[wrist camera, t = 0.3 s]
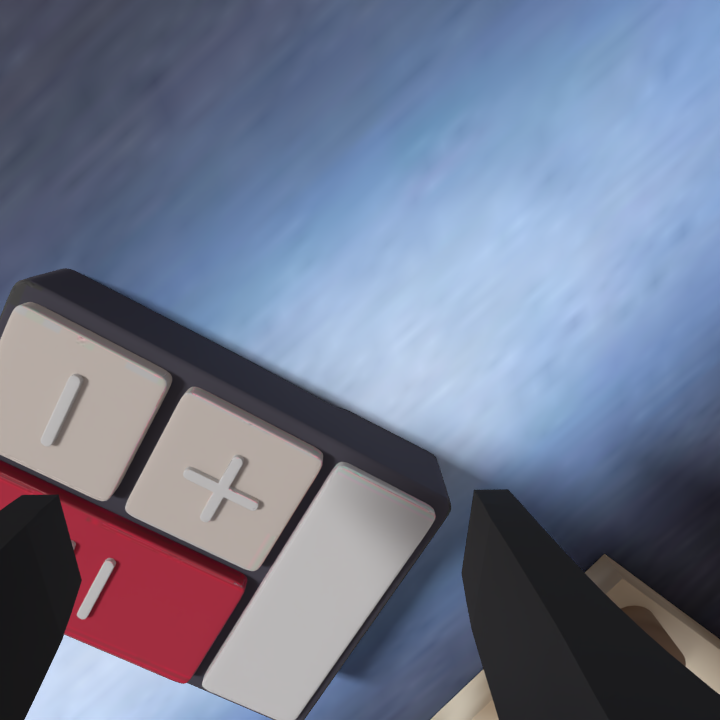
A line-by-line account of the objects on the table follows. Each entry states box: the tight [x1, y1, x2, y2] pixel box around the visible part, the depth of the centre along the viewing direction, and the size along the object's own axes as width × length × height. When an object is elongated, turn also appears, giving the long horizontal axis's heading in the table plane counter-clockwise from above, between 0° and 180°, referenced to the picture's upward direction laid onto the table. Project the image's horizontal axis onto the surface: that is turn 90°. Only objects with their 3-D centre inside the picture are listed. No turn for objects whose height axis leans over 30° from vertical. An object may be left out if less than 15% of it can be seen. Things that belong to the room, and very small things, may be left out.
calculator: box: [0, 268, 451, 720], centre depth 20 cm, size 11×4×15 cm
